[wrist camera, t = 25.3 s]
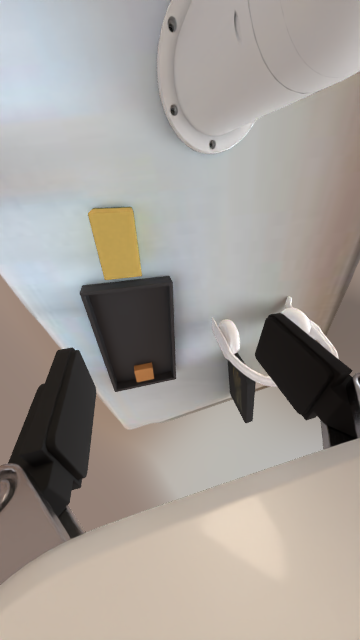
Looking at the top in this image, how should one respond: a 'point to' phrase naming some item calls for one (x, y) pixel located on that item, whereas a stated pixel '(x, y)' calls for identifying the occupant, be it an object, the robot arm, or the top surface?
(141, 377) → the orange square block
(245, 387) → the nameplate
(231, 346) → the headset
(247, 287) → the top surface
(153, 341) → the black shallow rectangular tray
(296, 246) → the top surface
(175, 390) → the top surface
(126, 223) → the sponge
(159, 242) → the top surface
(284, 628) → the robot arm
